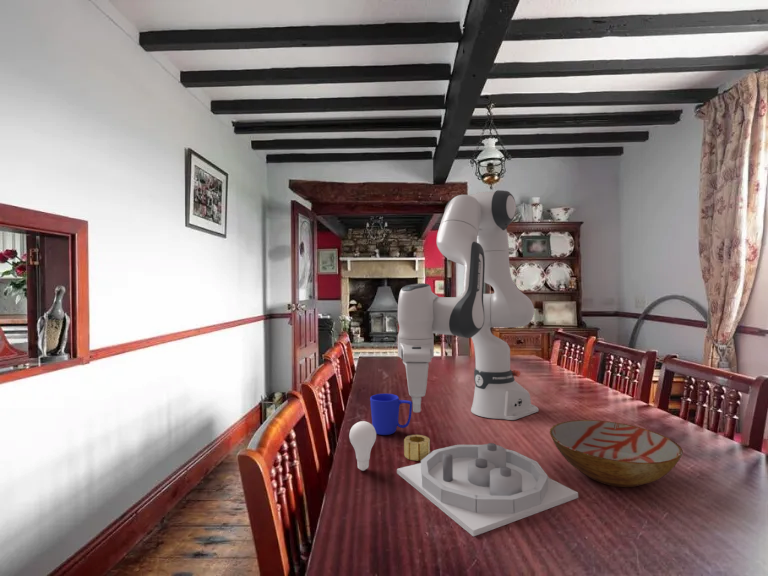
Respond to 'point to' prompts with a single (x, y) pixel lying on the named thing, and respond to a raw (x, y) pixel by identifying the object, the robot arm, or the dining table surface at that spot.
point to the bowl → (615, 451)
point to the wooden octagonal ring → (416, 447)
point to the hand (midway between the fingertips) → (415, 406)
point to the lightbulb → (362, 442)
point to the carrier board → (467, 487)
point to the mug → (387, 413)
